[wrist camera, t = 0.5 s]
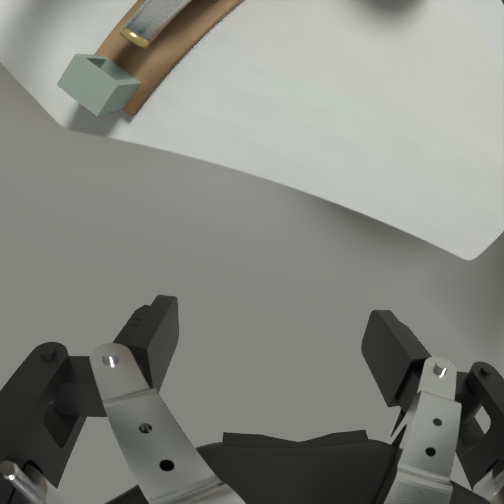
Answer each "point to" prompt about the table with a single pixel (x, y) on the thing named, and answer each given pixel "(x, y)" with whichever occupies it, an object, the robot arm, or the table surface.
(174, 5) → the tube
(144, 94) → the board
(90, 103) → the socket
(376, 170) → the table surface
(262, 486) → the robot arm
